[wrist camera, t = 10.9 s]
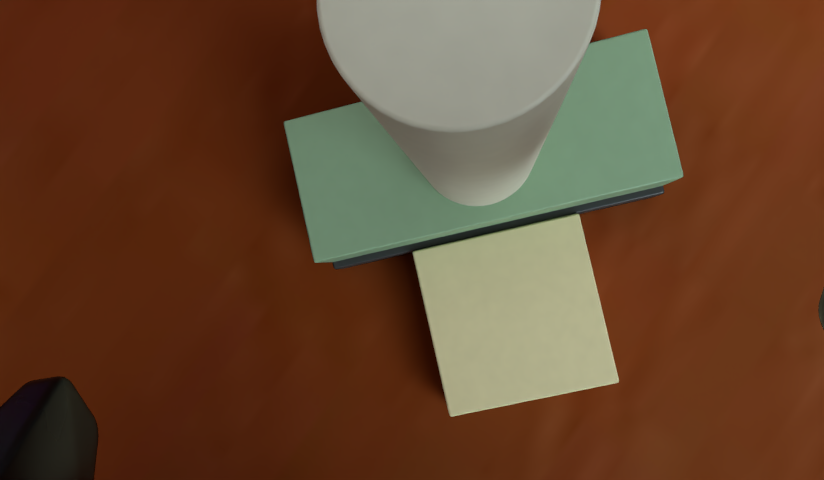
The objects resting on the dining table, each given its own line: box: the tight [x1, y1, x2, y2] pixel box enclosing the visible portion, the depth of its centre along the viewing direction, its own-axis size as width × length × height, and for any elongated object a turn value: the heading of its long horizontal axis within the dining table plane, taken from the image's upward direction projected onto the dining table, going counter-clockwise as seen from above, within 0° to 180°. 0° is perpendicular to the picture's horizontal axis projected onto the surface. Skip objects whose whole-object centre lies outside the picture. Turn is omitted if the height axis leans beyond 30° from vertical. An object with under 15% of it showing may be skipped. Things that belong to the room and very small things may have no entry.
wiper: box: [284, 0, 683, 269], centre depth 13 cm, size 4×9×13 cm, turn 103°
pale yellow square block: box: [413, 214, 619, 417], centre depth 19 cm, size 4×4×1 cm
